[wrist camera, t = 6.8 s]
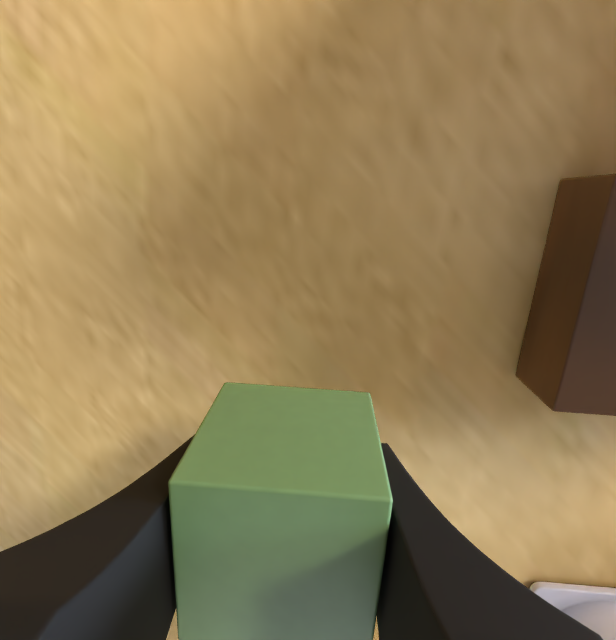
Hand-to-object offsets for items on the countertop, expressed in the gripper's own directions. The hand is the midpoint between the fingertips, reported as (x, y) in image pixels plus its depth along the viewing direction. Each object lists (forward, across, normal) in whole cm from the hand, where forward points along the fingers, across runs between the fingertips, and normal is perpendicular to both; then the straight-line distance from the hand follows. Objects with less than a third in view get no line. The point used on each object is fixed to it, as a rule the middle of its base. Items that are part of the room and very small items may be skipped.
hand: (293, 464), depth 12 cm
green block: (+1, 0, 0) cm, 1 cm away
